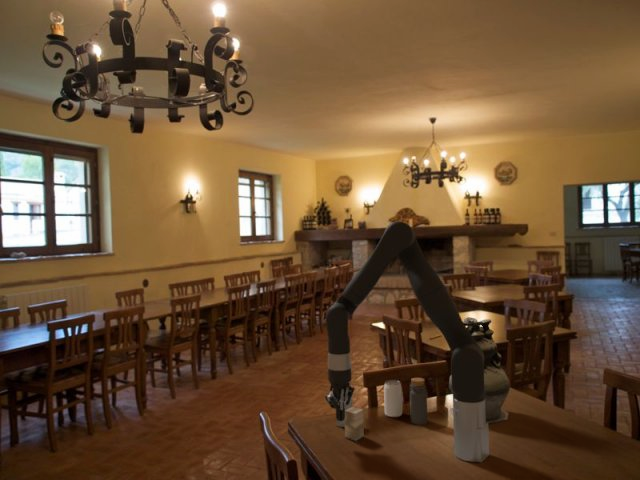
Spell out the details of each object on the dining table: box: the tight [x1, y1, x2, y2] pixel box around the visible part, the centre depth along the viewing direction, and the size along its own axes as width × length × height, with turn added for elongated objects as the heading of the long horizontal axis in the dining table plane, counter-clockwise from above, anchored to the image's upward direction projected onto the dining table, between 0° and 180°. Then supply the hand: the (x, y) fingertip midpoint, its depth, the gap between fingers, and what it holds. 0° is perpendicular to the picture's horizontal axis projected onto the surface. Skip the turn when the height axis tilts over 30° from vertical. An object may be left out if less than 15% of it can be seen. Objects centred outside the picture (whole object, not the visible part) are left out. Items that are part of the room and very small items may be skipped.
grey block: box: [336, 397, 354, 428], centre depth 175 cm, size 4×4×9 cm
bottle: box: [409, 377, 428, 426], centre depth 176 cm, size 6×6×15 cm
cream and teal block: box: [344, 406, 365, 442], centre depth 164 cm, size 4×4×9 cm
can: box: [383, 379, 403, 418], centre depth 184 cm, size 6×6×12 cm
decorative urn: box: [448, 316, 511, 424], centre depth 180 cm, size 21×21×35 cm
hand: (340, 420), depth 159 cm, fingers closed
